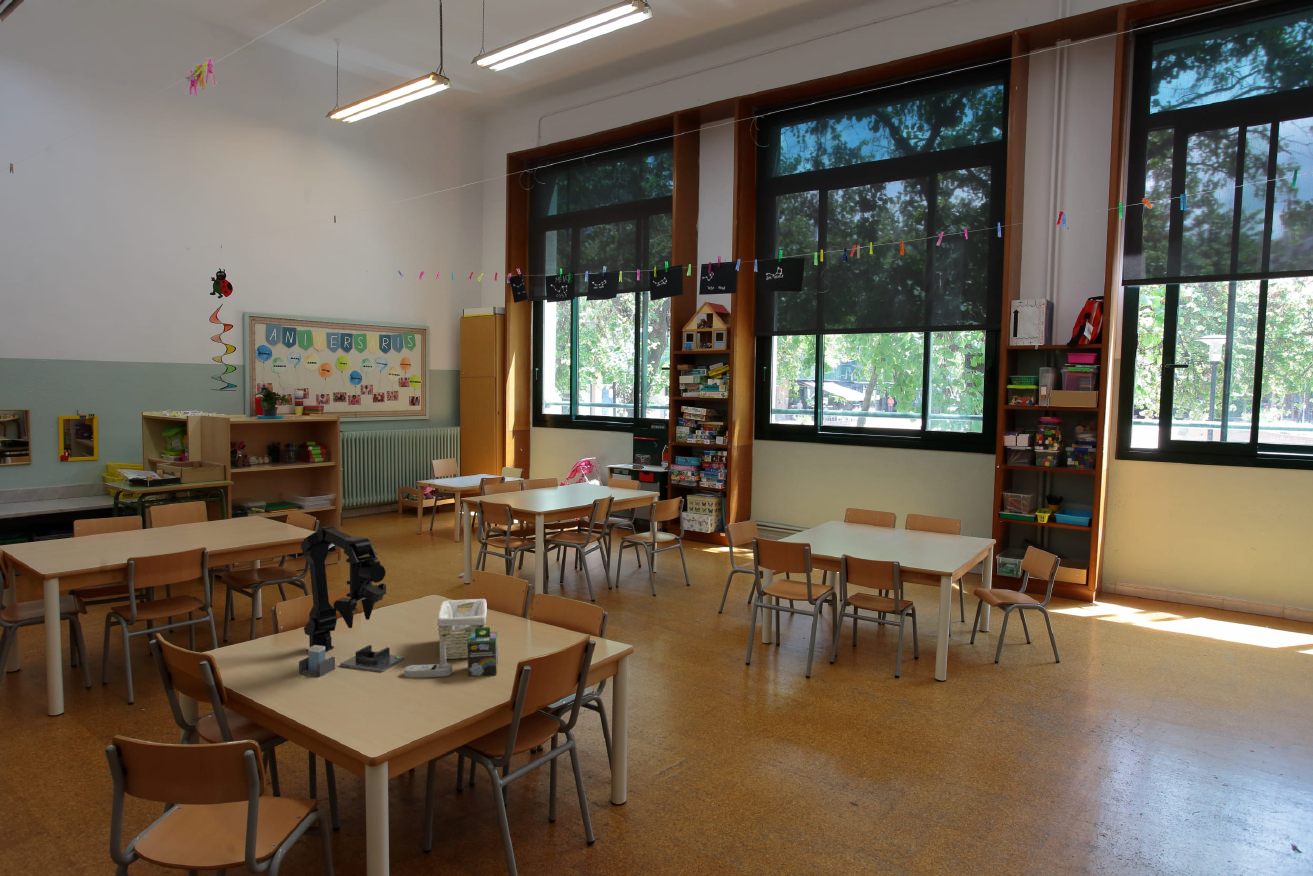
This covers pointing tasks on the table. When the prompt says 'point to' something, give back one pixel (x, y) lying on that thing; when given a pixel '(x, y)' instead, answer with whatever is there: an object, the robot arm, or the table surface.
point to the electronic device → (430, 668)
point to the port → (372, 659)
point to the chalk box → (482, 653)
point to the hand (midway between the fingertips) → (359, 623)
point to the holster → (321, 667)
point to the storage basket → (460, 625)
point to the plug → (315, 656)
